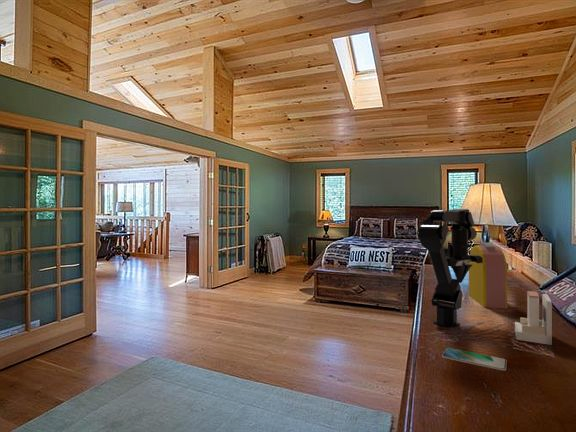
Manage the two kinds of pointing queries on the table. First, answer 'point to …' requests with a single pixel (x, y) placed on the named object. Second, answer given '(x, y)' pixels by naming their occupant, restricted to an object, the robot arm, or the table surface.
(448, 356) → the smartphone
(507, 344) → the table surface
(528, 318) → the off-white rectangular block
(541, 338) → the cream l-shaped bracket
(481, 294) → the yellow tall block
